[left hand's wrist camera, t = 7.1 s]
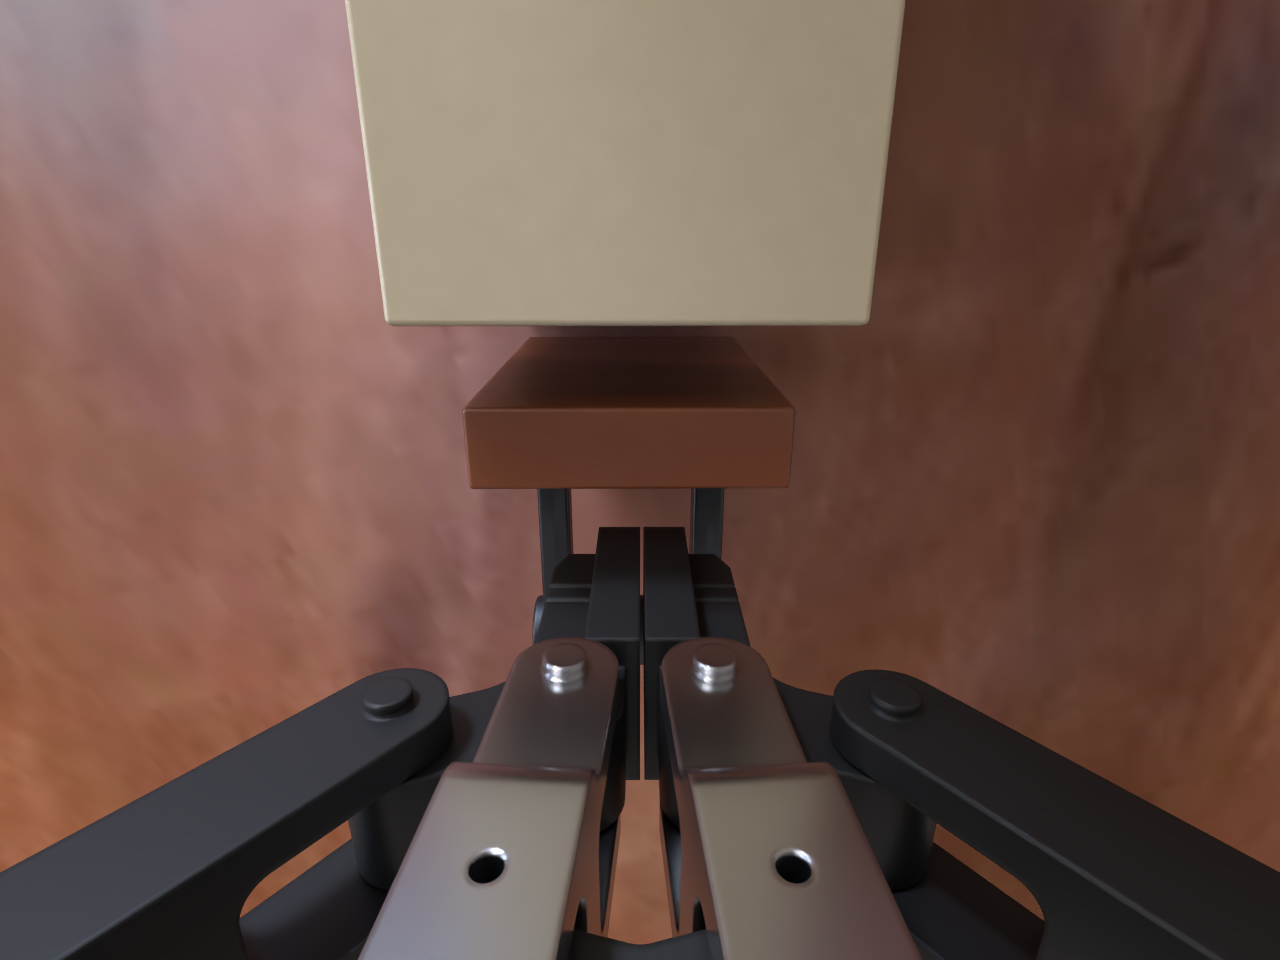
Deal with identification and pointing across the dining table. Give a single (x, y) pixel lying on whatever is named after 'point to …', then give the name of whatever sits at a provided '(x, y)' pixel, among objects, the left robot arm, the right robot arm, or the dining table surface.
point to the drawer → (628, 430)
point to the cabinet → (626, 158)
